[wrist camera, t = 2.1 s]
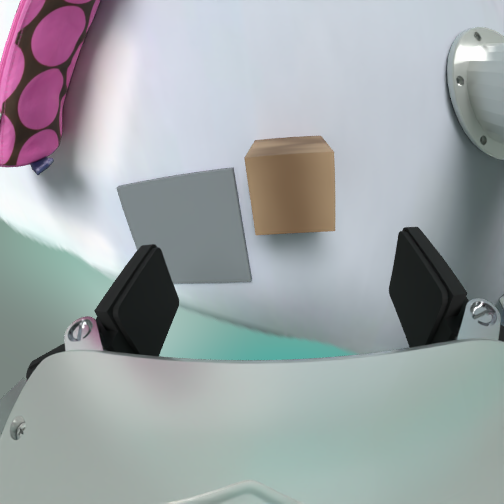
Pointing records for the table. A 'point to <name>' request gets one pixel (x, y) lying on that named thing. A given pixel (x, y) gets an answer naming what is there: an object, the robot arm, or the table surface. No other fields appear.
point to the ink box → (502, 301)
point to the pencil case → (39, 77)
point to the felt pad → (191, 224)
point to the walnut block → (291, 185)
